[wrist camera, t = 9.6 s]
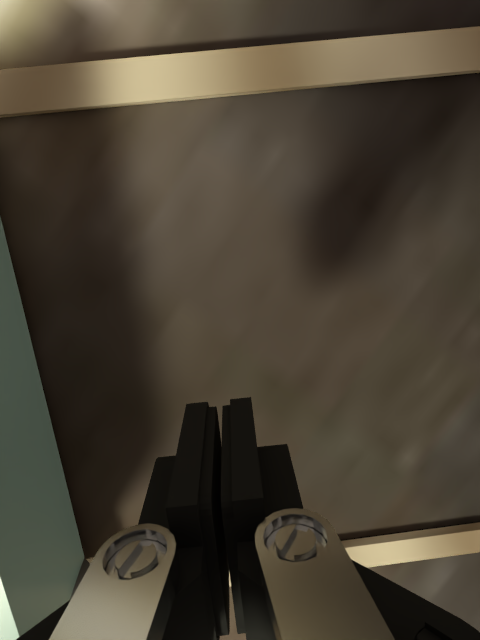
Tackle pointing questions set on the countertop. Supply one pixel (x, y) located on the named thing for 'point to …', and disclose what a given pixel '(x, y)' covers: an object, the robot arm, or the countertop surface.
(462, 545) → the track
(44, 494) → the green frame
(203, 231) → the countertop surface
